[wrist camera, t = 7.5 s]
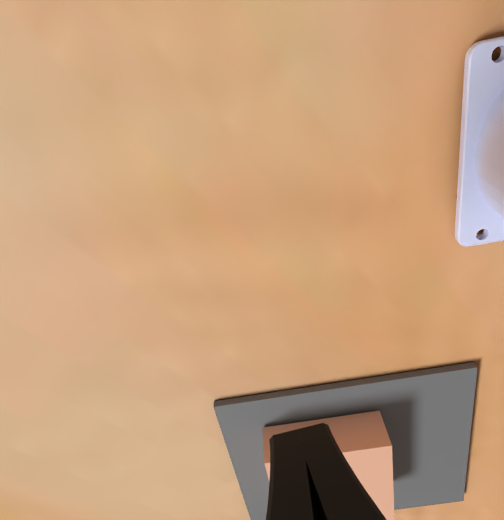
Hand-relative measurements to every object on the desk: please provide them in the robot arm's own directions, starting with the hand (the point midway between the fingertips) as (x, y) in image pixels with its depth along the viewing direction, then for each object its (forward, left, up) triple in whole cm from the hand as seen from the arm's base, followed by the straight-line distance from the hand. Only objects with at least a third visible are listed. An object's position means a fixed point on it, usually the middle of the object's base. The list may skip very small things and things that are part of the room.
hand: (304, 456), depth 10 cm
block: (-4, +14, -8) cm, 17 cm away
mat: (-2, +14, -10) cm, 18 cm away
